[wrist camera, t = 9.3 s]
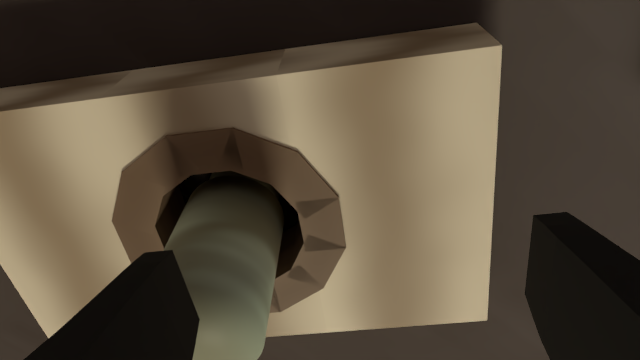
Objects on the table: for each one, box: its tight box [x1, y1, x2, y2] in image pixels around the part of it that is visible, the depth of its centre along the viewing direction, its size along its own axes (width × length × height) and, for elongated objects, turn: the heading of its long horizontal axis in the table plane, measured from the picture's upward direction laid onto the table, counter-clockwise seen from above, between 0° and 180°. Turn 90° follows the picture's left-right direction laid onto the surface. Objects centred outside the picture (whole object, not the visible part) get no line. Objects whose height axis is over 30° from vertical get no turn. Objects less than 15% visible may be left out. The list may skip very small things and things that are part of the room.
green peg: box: [163, 171, 284, 360], centre depth 17 cm, size 4×4×8 cm
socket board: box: [0, 23, 502, 338], centre depth 19 cm, size 20×12×3 cm, turn 98°
